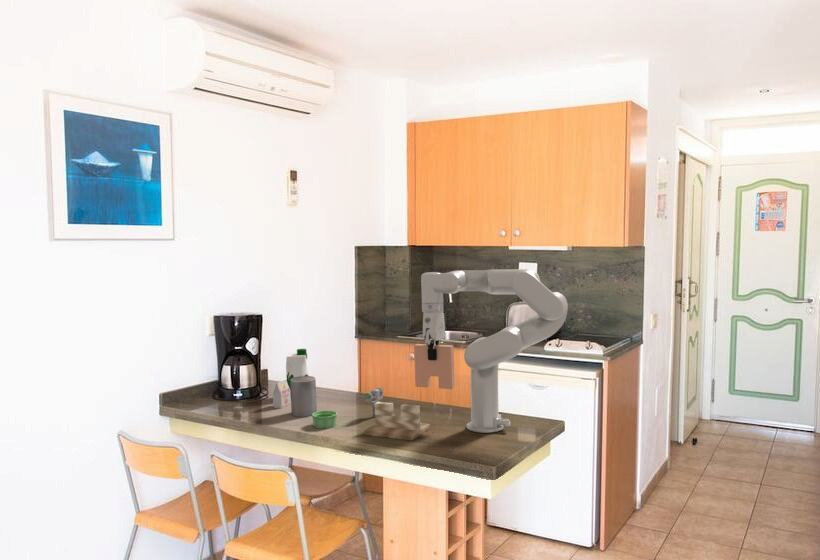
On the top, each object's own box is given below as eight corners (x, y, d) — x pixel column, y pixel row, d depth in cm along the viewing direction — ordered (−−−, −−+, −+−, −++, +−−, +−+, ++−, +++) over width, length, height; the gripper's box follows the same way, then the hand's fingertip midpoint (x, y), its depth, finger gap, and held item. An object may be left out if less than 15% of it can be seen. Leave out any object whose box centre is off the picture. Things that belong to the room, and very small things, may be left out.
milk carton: (308, 398, 290) (306, 351, 289) (286, 399, 289) (284, 351, 288) (309, 393, 299) (308, 347, 297) (288, 394, 298) (286, 348, 297)
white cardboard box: (273, 407, 276) (272, 383, 275) (283, 403, 282) (282, 379, 281) (281, 408, 275) (280, 383, 274) (290, 404, 281) (289, 380, 280)
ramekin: (333, 429, 244) (333, 417, 244) (309, 428, 246) (308, 416, 245) (340, 422, 253) (340, 410, 253) (316, 421, 254) (316, 410, 254)
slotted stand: (430, 428, 242) (429, 401, 242) (412, 440, 229) (411, 412, 228) (384, 423, 250) (383, 397, 249) (364, 434, 236) (363, 407, 236)
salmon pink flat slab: (454, 387, 244) (453, 345, 243) (452, 389, 241) (450, 346, 240) (418, 385, 250) (416, 343, 248) (415, 386, 247) (414, 345, 246)
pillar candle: (298, 409, 272) (296, 372, 271) (321, 410, 269) (319, 372, 268) (287, 416, 263) (285, 377, 261) (310, 417, 260) (309, 378, 259)
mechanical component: (364, 419, 255) (363, 393, 254) (378, 413, 264) (377, 387, 263) (371, 420, 254) (370, 393, 253) (385, 413, 263) (384, 387, 262)
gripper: (433, 310, 235) (435, 364, 236) (450, 305, 249) (452, 355, 251) (413, 309, 238) (415, 362, 239) (431, 304, 252) (433, 354, 254)
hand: (434, 358), depth 245 cm, fingers closed on salmon pink flat slab, 2 cm apart
